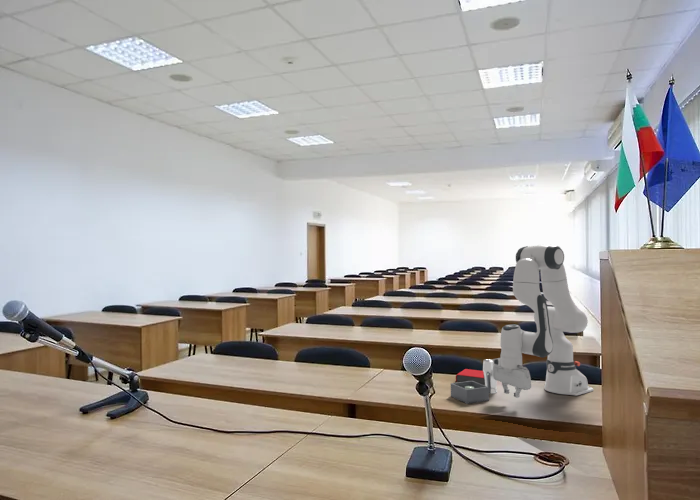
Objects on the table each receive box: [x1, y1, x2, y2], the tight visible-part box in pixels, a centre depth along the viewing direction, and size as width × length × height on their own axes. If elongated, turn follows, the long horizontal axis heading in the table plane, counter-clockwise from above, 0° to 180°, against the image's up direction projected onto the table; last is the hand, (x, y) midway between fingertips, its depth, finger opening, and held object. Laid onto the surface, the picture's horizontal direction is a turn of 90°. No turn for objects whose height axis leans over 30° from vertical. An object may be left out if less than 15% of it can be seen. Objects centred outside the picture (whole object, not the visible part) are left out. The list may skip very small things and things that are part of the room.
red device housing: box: [455, 368, 485, 385], centre depth 244 cm, size 18×14×5 cm
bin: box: [450, 381, 490, 405], centre depth 216 cm, size 12×12×6 cm
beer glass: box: [482, 358, 498, 394], centre depth 225 cm, size 7×7×15 cm
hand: (511, 395), depth 205 cm, fingers open, 5 cm apart
